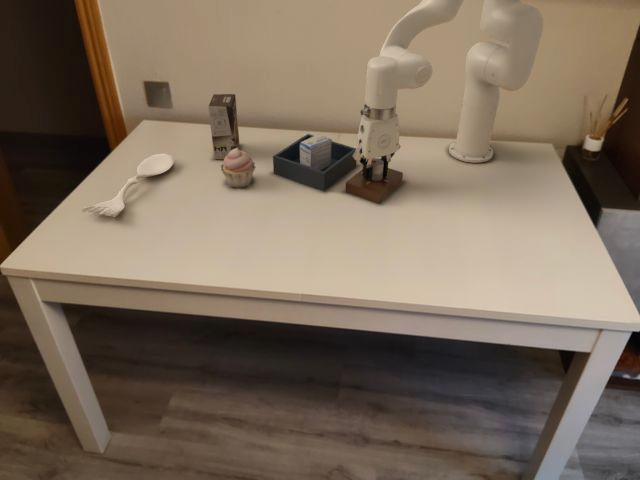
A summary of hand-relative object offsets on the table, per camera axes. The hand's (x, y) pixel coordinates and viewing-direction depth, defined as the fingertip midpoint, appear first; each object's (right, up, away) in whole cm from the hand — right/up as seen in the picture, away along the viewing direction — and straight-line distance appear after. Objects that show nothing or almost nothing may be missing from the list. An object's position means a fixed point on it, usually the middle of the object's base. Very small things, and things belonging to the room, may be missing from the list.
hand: (374, 176), depth 142 cm
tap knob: (0, 0, 0) cm, 0 cm away
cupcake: (-36, -1, +4) cm, 36 cm away
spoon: (-62, -4, 0) cm, 62 cm away
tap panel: (0, -3, +2) cm, 3 cm away
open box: (-16, +3, +9) cm, 18 cm away
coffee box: (-41, +9, +17) cm, 46 cm away
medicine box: (-16, +3, +9) cm, 18 cm away
